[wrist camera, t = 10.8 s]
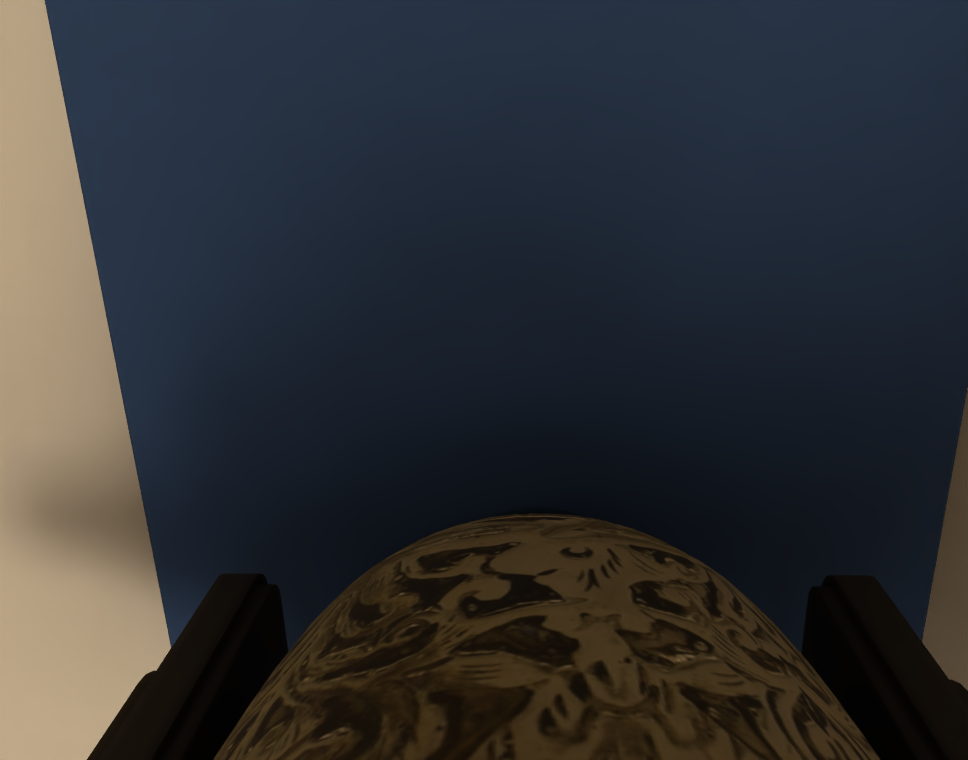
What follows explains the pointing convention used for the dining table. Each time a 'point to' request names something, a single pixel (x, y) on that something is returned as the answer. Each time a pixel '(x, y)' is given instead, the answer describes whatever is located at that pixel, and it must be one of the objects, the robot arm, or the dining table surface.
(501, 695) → the dark brown rounded piece
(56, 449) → the dining table surface
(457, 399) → the cloth
